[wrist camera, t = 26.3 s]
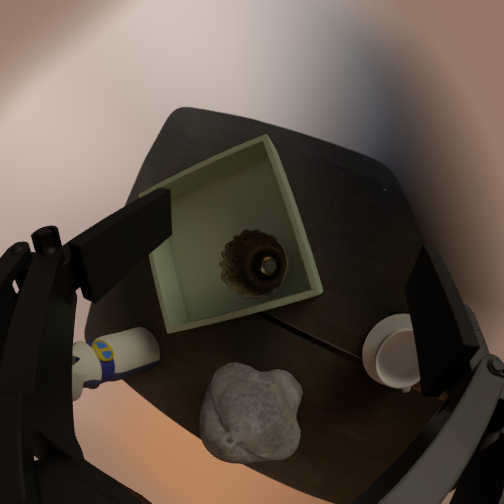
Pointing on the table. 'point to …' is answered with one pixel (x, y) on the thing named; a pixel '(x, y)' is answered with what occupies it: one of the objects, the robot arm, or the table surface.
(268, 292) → the dark brown hollow vessel
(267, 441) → the decorative stone
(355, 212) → the table surface
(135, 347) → the white blue vase
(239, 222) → the bin
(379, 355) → the teacup
